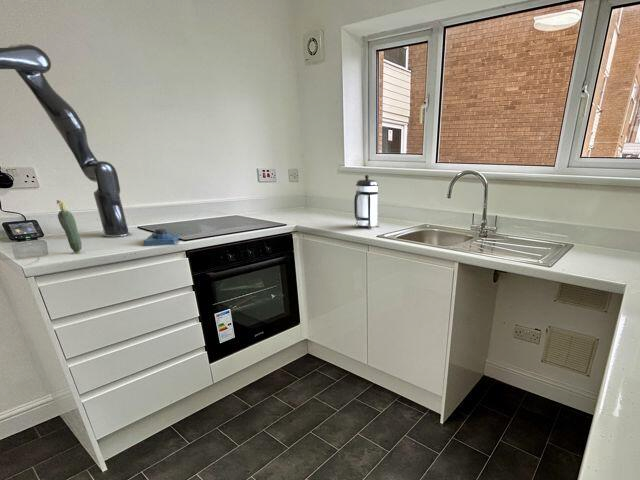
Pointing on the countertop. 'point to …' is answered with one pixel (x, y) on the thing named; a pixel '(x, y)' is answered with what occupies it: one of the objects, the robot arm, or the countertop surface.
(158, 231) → the button
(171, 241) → the button box
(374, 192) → the coffee press
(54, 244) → the countertop surface
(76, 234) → the vegetable
